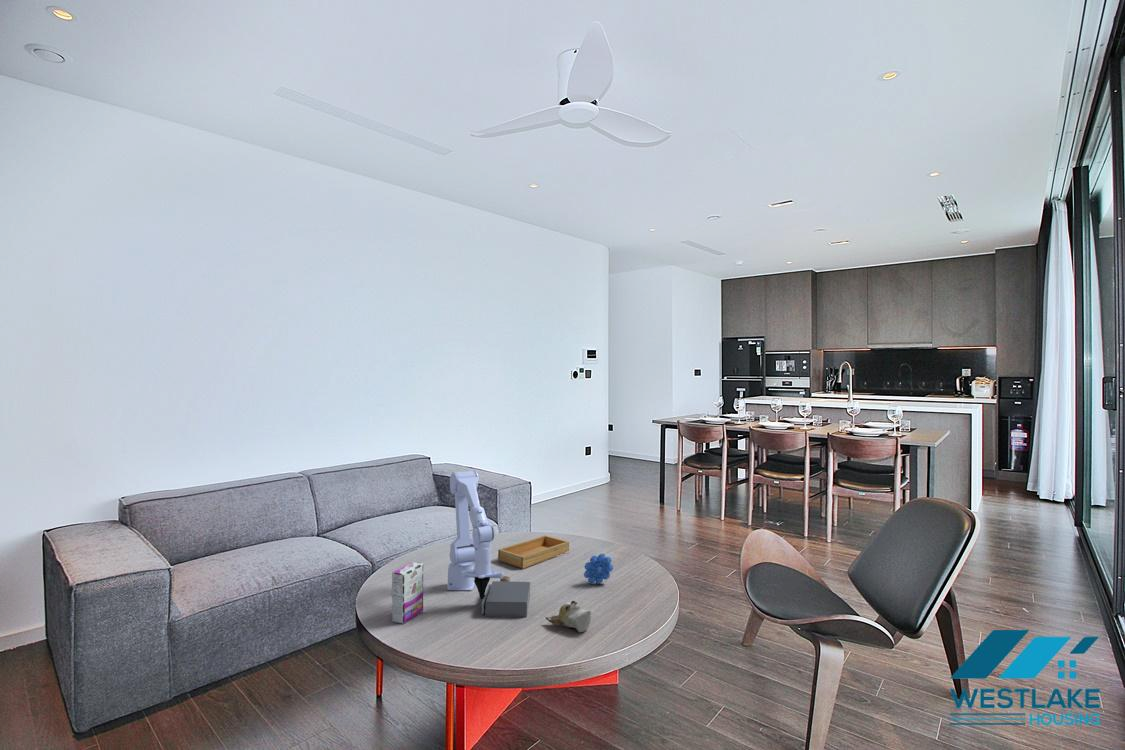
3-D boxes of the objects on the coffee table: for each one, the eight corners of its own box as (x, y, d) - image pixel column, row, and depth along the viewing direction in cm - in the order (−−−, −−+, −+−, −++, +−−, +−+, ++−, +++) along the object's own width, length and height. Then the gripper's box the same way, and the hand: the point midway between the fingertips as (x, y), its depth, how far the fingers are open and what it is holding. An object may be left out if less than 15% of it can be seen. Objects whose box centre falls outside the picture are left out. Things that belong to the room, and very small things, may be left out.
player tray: (481, 613, 184) (481, 603, 184) (488, 593, 202) (488, 584, 202) (521, 614, 184) (521, 604, 184) (524, 594, 202) (524, 584, 202)
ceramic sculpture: (579, 611, 169) (543, 600, 179) (580, 639, 169) (544, 627, 178) (599, 600, 177) (564, 591, 187) (600, 627, 177) (564, 616, 187)
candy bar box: (411, 608, 189) (412, 561, 189) (423, 610, 188) (424, 563, 187) (390, 622, 179) (391, 572, 179) (403, 624, 177) (404, 574, 177)
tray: (544, 546, 261) (544, 534, 261) (569, 553, 252) (569, 540, 252) (497, 562, 238) (498, 549, 238) (522, 570, 228) (523, 557, 228)
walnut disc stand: (496, 591, 205) (496, 580, 205) (497, 585, 211) (498, 574, 211) (511, 591, 205) (512, 581, 205) (513, 585, 211) (513, 575, 211)
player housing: (485, 616, 184) (485, 601, 184) (492, 594, 202) (492, 581, 202) (526, 617, 184) (527, 602, 184) (530, 595, 202) (530, 581, 202)
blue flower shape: (611, 579, 219) (611, 549, 219) (614, 586, 212) (614, 555, 212) (582, 580, 218) (582, 550, 218) (584, 586, 211) (584, 555, 211)
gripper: (460, 563, 189) (459, 602, 189) (501, 564, 189) (501, 603, 189) (463, 556, 196) (463, 594, 196) (504, 557, 196) (503, 594, 196)
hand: (482, 598), depth 193 cm, fingers closed
